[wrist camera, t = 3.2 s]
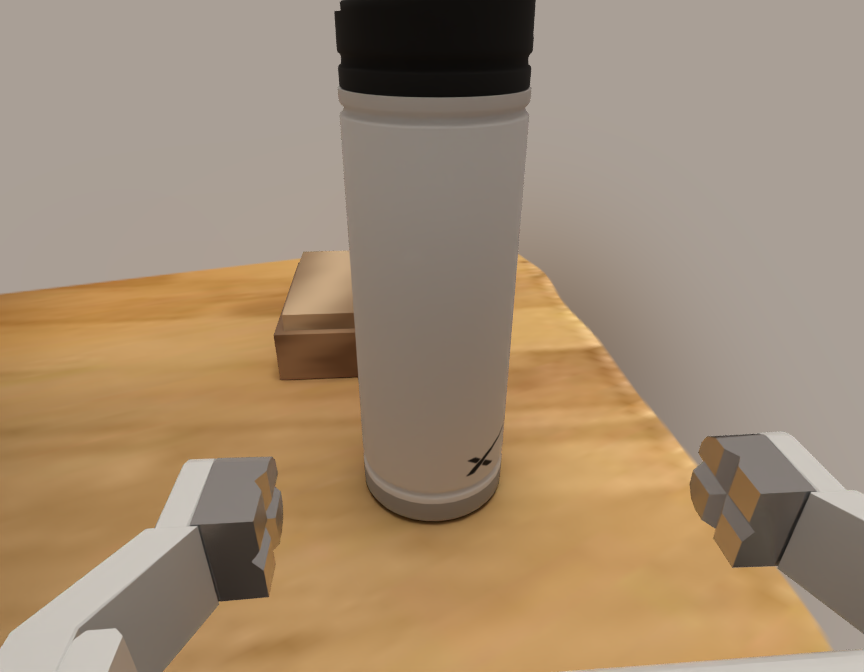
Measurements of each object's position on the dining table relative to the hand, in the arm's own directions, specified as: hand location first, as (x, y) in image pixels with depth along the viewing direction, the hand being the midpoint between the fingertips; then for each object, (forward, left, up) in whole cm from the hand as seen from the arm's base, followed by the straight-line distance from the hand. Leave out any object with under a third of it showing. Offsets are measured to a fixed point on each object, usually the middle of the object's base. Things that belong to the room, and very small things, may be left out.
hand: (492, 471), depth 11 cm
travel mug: (0, +12, -11) cm, 16 cm away
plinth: (-3, +26, -11) cm, 28 cm away
